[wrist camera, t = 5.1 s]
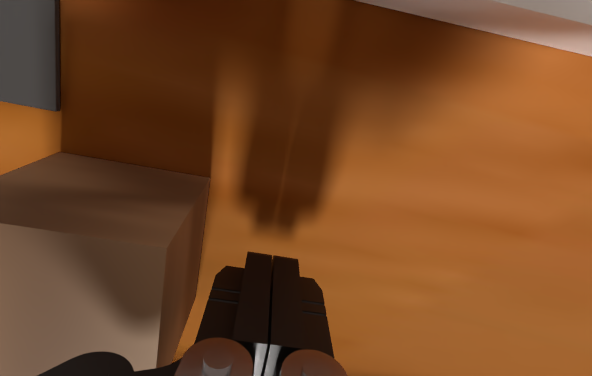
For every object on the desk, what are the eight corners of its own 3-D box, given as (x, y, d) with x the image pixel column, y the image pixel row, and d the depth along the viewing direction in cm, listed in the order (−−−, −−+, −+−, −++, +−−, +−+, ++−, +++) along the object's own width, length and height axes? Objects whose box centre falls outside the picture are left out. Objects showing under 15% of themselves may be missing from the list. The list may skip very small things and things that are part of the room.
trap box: (644, 28, 10) (783, 15, 7) (439, 461, 16) (474, 547, 13) (-328, -214, 8) (-677, -373, 5) (-159, 399, 13) (-276, 489, 11)
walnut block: (210, 177, 11) (166, 247, 7) (195, 297, 13) (151, 417, 8) (59, 151, 11) (-86, 210, 6) (61, 279, 12) (-57, 395, 8)
